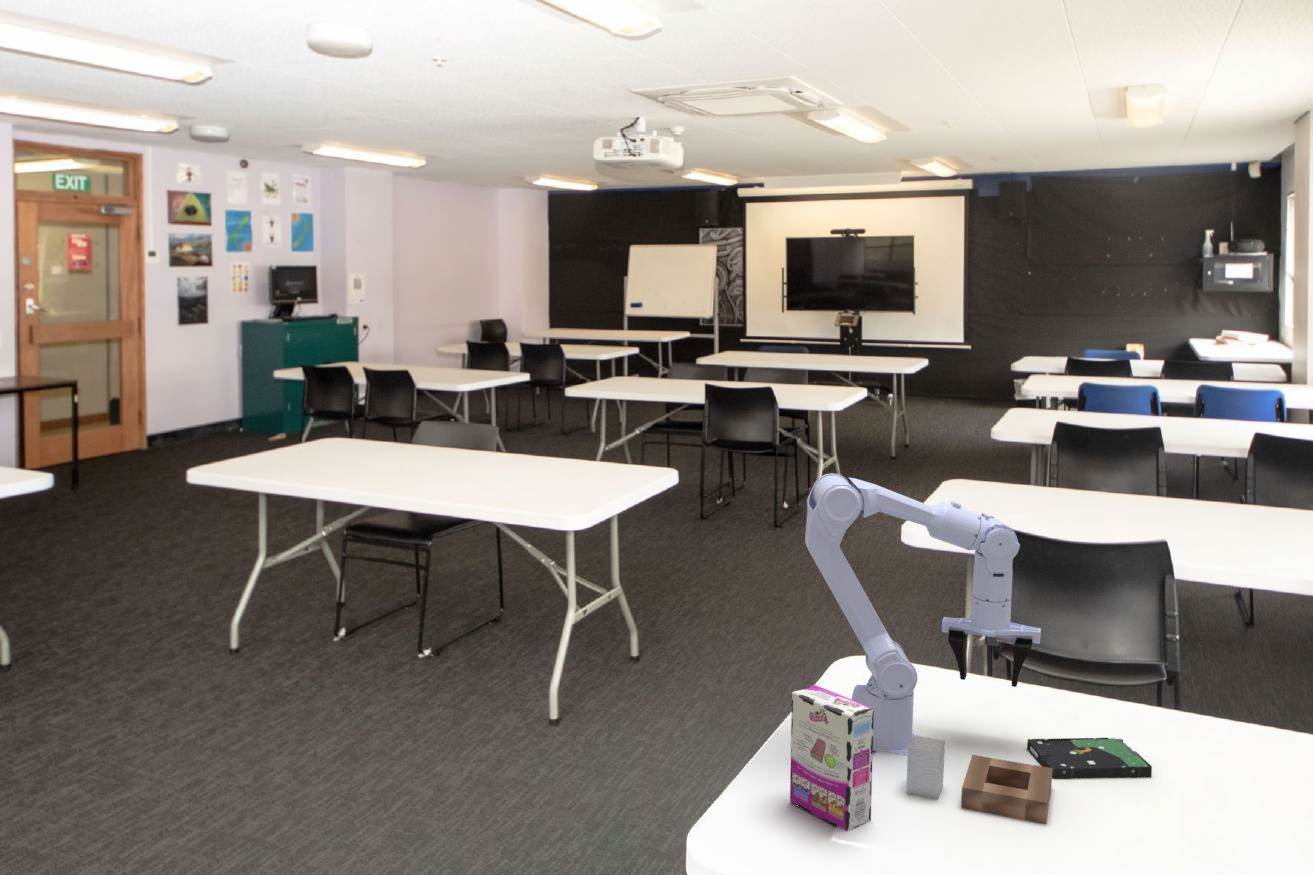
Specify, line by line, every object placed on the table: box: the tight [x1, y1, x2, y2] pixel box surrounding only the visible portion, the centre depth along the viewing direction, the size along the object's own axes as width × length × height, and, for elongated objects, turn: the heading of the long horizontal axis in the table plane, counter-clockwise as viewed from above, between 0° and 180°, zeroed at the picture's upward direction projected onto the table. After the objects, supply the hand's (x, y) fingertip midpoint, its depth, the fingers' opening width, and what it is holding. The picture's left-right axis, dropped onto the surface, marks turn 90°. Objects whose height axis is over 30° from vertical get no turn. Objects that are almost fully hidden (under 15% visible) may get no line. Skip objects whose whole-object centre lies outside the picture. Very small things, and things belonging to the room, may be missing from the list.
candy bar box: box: [789, 684, 874, 832], centre depth 143 cm, size 11×5×16 cm, turn 37°
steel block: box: [906, 735, 946, 801], centre depth 149 cm, size 4×4×7 cm
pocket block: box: [960, 754, 1053, 825], centre depth 147 cm, size 11×11×4 cm
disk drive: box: [1026, 737, 1153, 780], centre depth 158 cm, size 10×3×15 cm
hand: (988, 680), depth 164 cm, fingers open, 7 cm apart
